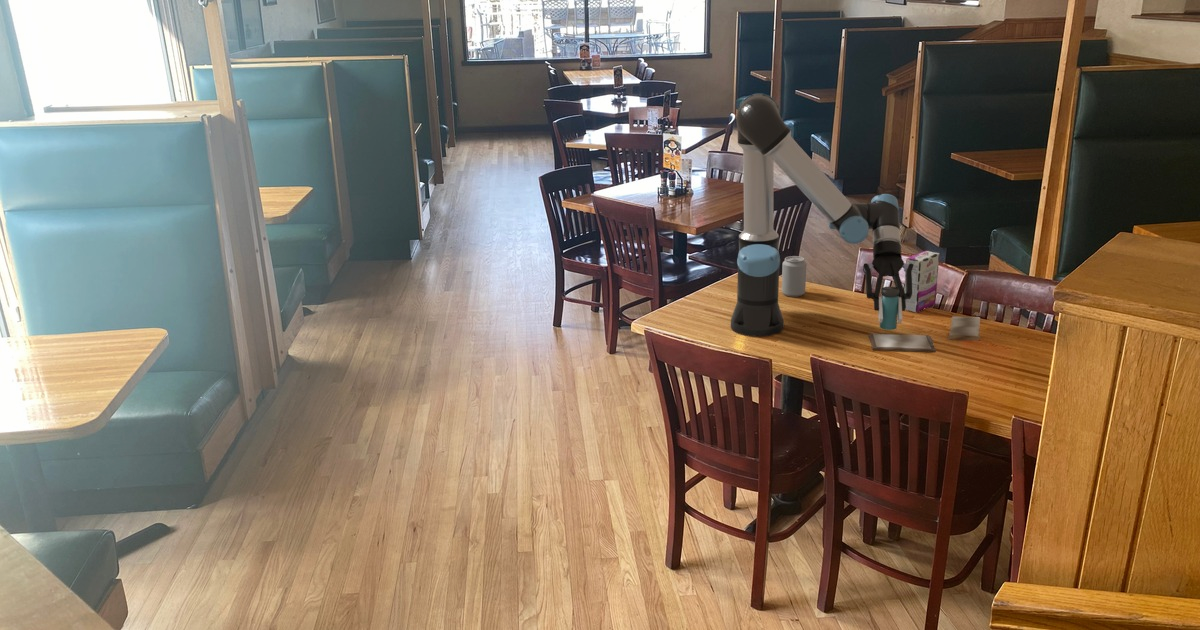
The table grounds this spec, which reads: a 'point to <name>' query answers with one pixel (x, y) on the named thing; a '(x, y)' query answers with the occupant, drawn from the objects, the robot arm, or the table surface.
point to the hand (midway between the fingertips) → (890, 320)
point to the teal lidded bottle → (889, 307)
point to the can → (794, 276)
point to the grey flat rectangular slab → (902, 342)
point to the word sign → (965, 328)
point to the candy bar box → (923, 280)
